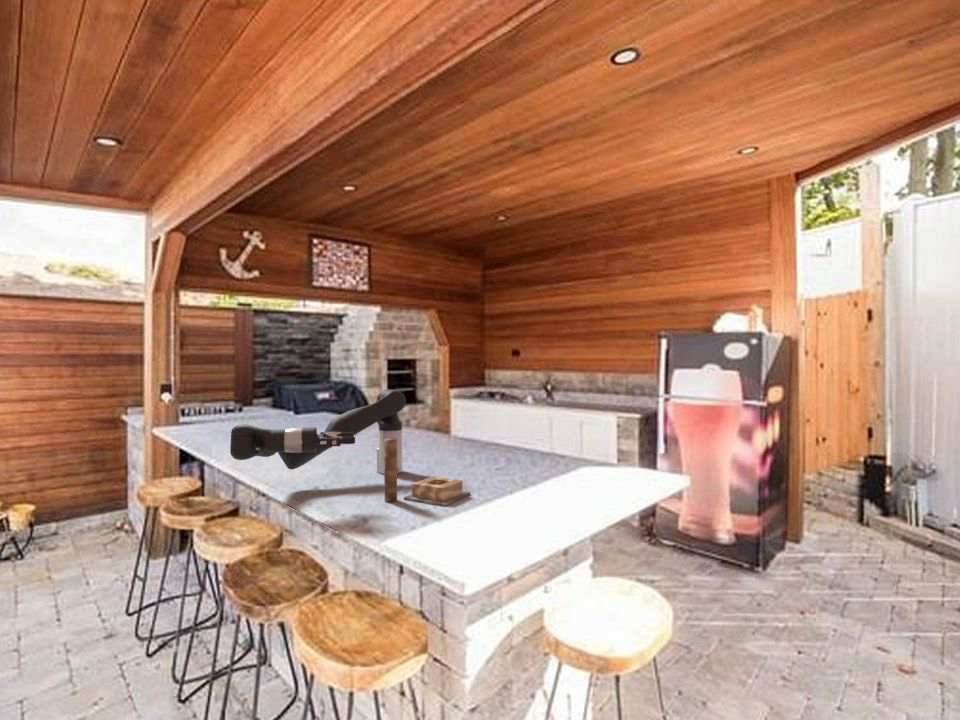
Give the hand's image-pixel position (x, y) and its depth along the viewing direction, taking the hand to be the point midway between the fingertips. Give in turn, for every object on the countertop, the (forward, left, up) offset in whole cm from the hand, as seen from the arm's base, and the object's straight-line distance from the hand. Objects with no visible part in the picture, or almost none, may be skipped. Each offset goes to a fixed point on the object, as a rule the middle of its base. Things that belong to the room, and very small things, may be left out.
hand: (354, 437), depth 172 cm
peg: (+8, +9, -21) cm, 24 cm away
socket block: (+19, +20, -21) cm, 34 cm away
